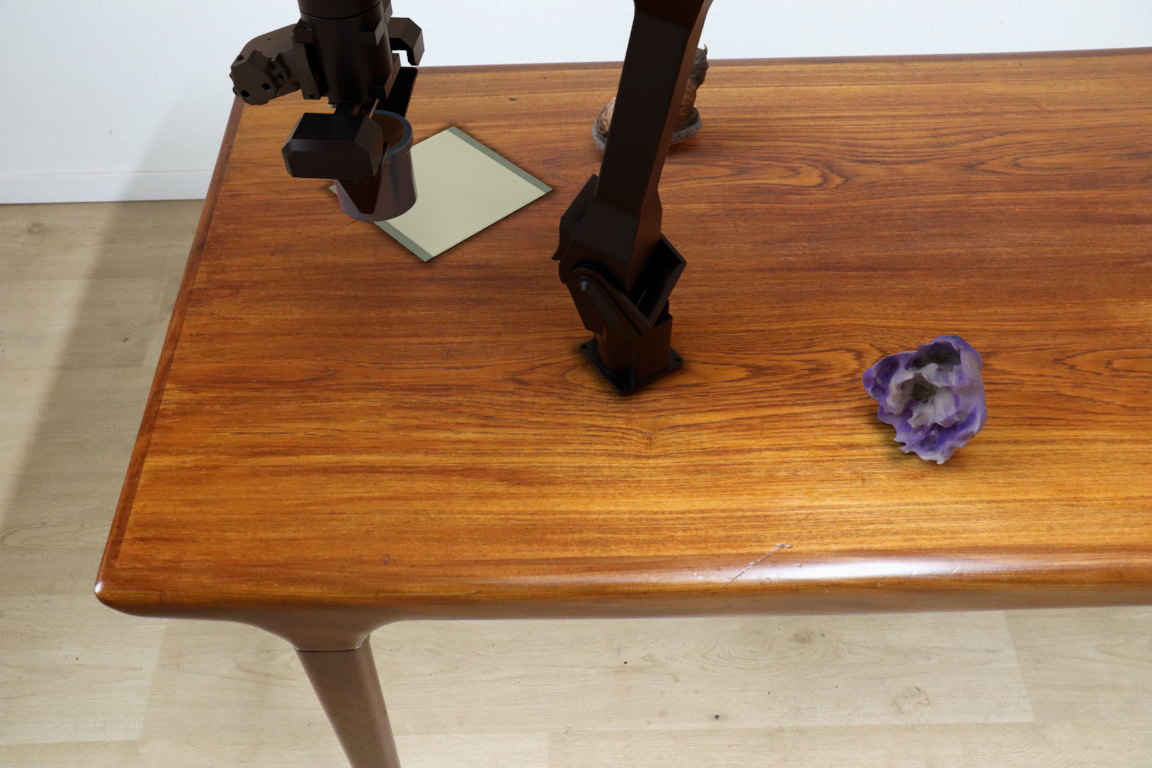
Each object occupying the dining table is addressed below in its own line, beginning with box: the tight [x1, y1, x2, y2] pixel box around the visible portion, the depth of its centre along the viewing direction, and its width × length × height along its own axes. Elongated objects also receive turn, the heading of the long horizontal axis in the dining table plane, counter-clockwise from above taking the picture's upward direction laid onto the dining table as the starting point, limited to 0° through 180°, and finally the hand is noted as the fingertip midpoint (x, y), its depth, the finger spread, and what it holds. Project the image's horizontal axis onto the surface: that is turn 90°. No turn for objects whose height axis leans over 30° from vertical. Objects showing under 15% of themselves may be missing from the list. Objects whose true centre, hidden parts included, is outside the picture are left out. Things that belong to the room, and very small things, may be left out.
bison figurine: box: [591, 43, 710, 153], centre depth 97 cm, size 12×7×10 cm, turn 106°
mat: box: [328, 125, 554, 263], centre depth 95 cm, size 16×16×1 cm
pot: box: [333, 110, 418, 223], centre depth 76 cm, size 7×7×6 cm
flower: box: [861, 334, 988, 465], centre depth 72 cm, size 9×9×10 cm
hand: (377, 187), depth 77 cm, fingers closed on pot, 6 cm apart
